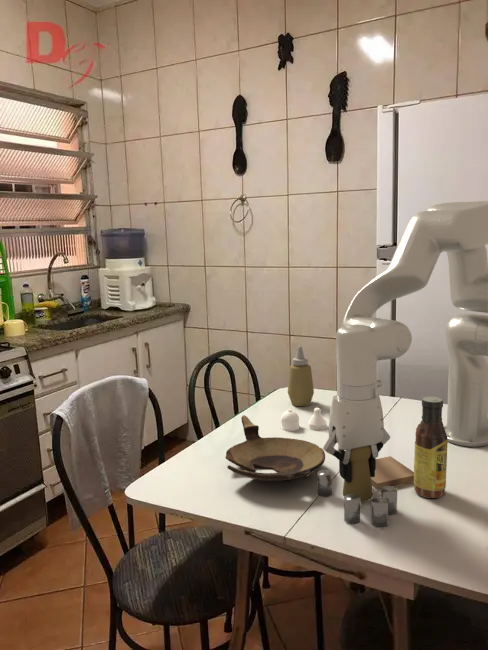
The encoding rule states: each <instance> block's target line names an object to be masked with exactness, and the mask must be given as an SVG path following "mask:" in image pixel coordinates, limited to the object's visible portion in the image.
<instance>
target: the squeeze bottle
mask: <svg viewBox="0 0 488 650" xmlns="http://www.w3.org/2000/svg"><path fill="white" fill-rule="evenodd" d="M295 355H296V356H294V357H293V358H292V360H291V361H292V364H291V365H290V366H289V368H288V369H289V371H288V382H287V394H288V398H289V400H290V403H291V404H292V405H293V406H296V407H306V406H307V407H308V406H309V405H310V404H311V403H312V400H313V396H314V394H315V390H314V383H313V382H314V380H313V373H312V367H311V365H310V364H309V359H308V357H306V356H305V355H304V351H303V346H297V350H296V354H295Z"/></svg>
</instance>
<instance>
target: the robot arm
mask: <svg viewBox="0 0 488 650" xmlns="http://www.w3.org/2000/svg"><path fill="white" fill-rule="evenodd" d="M486 245H488V200H479V201H457V202H456V201H454V202H451V201H450V202H443V203H438V204H434V205H431V206H429V208H428V209H427V210H424V211H419V212H418V213H415V214H414V215H413V216H412V217H411V218H410V219H409V221H408V223H407V225H406V227H405V229H404V232H403V234H402V237H401V239H400V240H399V243H398V245H397V247H396V249H395V252H394V254H393V256H392V258H391V260H390V262H389V265H388V267H387V268H386V269H385V270H384V271H383V272H381V273H380V274H379V275H377V276H376V277H373V278H372V279H371V281H369V282H368V283H367V284H366V285H365V286H363V287H362V288H361V289H360V290H359V291H358V292H357V293H356V294H355V295H354V297H353V299H352V300H351V302H350V304H349V305H348V307H347V310H346V312H345V314H344V317H343V319H342V322H341V325H340V328H338V329H337V331H336V334H335V356H336V357H335V358H336V359H335V360H336V361H335V362H336V395H334V396H333V397H332V401H331V405H330V412H329V423H328V439H327V440H326V442H325V444H324V445H323V448H322V449H323V450H324V452H326V453H328V454H329V455H331V456H333V457H335V458H336V459H337V460H338V461H339V462H338V466H339V468H338V469H339V471H338V472H339V476H340V478H342V479H343V481H344V480H345V481H346V482H348V483H350V482H351V481H352V471H351V464H350V463H349V458H350V453H351V449H354V448H359V447H364V446H368V445H369V446H370V449H371V455H370V458H369V459H368V462H369V469H370V476H371V477H375V470H376V459H378V456H379V453H380V451H381V450H382V449H383V447H384V445H385V444H387V443H388V441H389V440H390V439H391V435H390V434H389V433H388V431H387V430H386V429H385V422H384V413H383V405H382V401H381V397H380V394H378V388H379V387H382V385H383V383H382V380H381V379H377V375H378V371H377V370H378V369H377V363H378V362H379V361H385V360H386V361H387V360H394V359H398V358H400V357H402V356H404V355H405V354H406V353H407V352H408V350H410V347H411V346H412V345H411V344H412V340H413V338H412V337H413V336H412V332H411V330H410V328H409V327H408V326H407V325H406V324H405V323H403V322H401V321H398V320H393V319H386V318H380V317H373V316H374V315H375V313H376V312H377V311H378V310H379V309H380V308H382V307H383V306H384V305H386V304H387V303H390V302H391V301H394V300H396V299H399V298H403V297H405V296H409V295H411V294H413V293H416V292H419V291H421V290H423V289H424V288H425V287H426V286H427V285H428V284H429V280H430V278H431V276H432V273H433V271H434V269H435V266H436V264H437V262H438V259H439V257H440V256H441V254H442V253H443V252H446V256H447V261H448V276H449V277H448V278H449V291H450V293H449V294H450V300H451V303H452V305H453V306H454V307H455V308H457V309H458V310H463V311H468V312H476V313H477V312H478V313H485V314H486V313H487V314H488V250H487V247H486ZM445 339H446V345H447V350H448V379H447V380H448V382H447V383H448V384H447V387H448V388H447V410H446V411H447V413H446V415H447V416H446V417H447V418H446V424H445V425H443V426H444V429H445V432H446V435H447V438H448V442H449V443H451V444H454V445H457V446H461V447H462V446H463V447H474V448H475V447H486V446H488V362H487V360H486V358H485V357H488V315H484V314H475V313H461V314H456V315H454V316H453V317H451V318H450V319H449V320H448V322H447V324H446V327H445ZM336 444H338V446H337V448H335V446H336Z"/></svg>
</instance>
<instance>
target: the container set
mask: <svg viewBox="0 0 488 650" xmlns="http://www.w3.org/2000/svg"><path fill="white" fill-rule="evenodd" d="M327 422H328V421H326V419H325V418H324V416H323V415H322V413H321V409H320V408H319V407H315V408H314V409H313V414H312V416H311V417H310V418H309V420H308V422H307V424H308V425H307V427H308V429H310V430H313V431H324V430H326V429H327V425H328V424H327ZM280 424H281V425H280V429H281V430H283V431H285V432H293V431H297V430H299V429H300V427H301V426H300V417H299V415H298V413H297V412H296V411H294V410H292V409H291V408H288V409H287V410H286V411H284V412H283V413H282V414H281V416H280Z"/></svg>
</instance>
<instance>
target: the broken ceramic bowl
mask: <svg viewBox="0 0 488 650" xmlns="http://www.w3.org/2000/svg"><path fill="white" fill-rule="evenodd" d="M241 424H242V427H243V432H244V436H245V440H244V441H243V442H240V443H238V444H235V445H233V446H231V447H230V448H228V449H227V450H226V453H225V454H226V455H225V460H227V461H229V462H230V463H232V464H233V465H236V466H237V467H239V468H237V467H234V466H232V465H227V470H230V471H231V472H233V473H235V474H237V475H241V476H242V477H245V478H248V479H252V480H255V481H256V480H257V481H263V482H277V481H279V482H280V481H289V480H290V481H291V480H295V479H296V478H297V479H298V478H300V477H303V478H304V477H309V476H310V475H311V473H313V472H315V471H317V470H318V469H319V468H321V467H322V466H323V465H324V463H325V461H326V453H325V452H326V451H325V450H324V449H323V448H322V447H320V446H319V445H317V443H316V444H315V443H314V442H313V443H312V442H309V441H307V440H303V439H298V438H290V437H276V436H275V437H261V436H260V435H259V430H260V428H259V425H257V424H254V423H253V422H252V421H251V420H250V418H249V417H248V416H247V415H245V414H244V415H243V414H242V416H241ZM256 468H258V469H261V470H260V472H256V471H257V470H256ZM242 469H243V470H242ZM262 469H270V470H273V471H276V472H268V473H267V472H262V471H263V470H262Z"/></svg>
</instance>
